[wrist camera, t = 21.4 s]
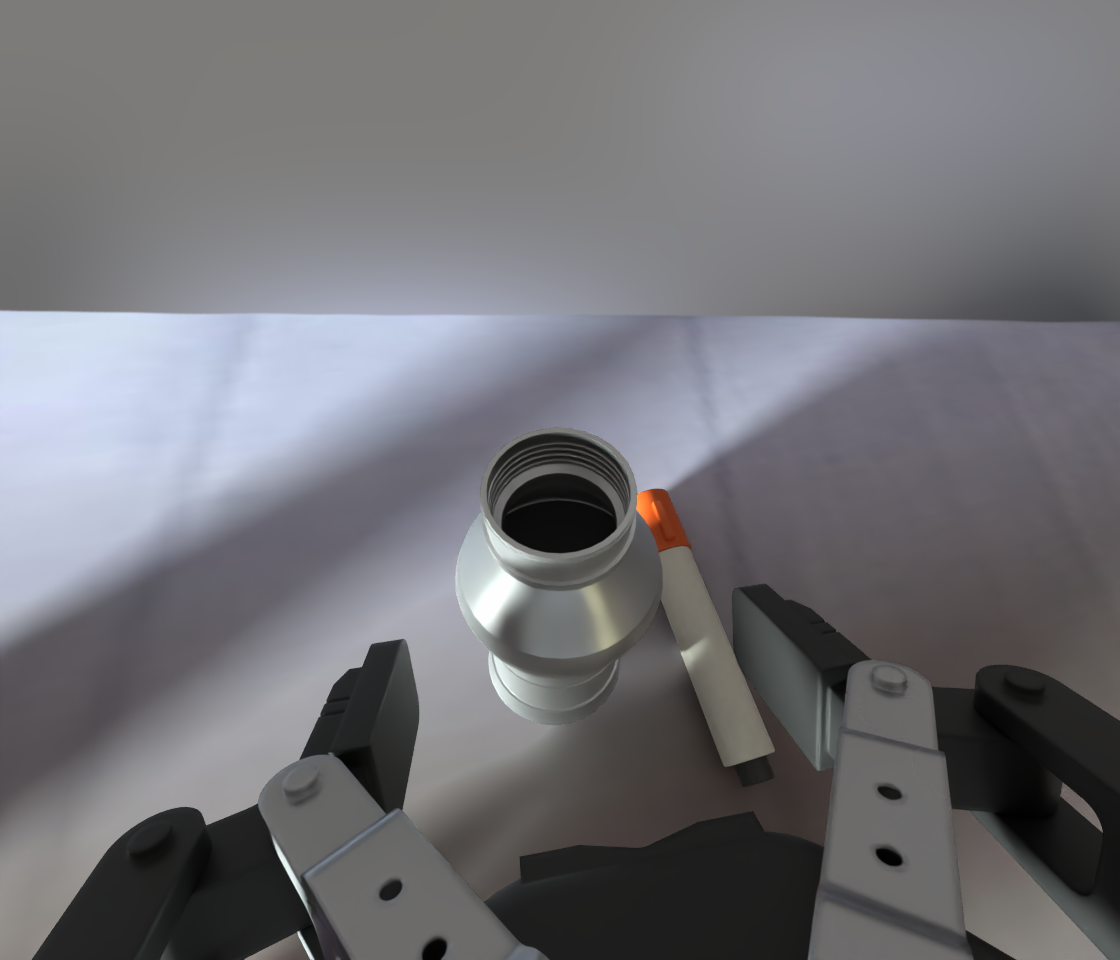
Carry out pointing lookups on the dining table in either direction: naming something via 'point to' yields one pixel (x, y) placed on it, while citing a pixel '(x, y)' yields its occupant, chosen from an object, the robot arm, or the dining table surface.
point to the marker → (706, 647)
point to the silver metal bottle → (558, 573)
